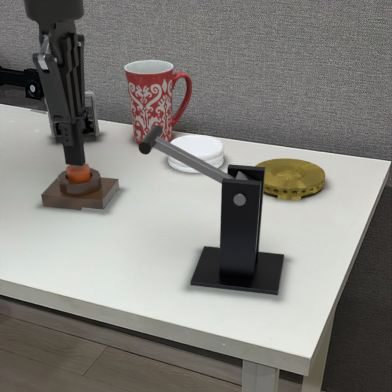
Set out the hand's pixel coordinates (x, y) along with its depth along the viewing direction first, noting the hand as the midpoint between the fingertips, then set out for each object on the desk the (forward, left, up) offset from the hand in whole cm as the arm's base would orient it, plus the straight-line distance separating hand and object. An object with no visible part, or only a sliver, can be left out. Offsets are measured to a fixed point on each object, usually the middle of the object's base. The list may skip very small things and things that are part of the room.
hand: (75, 163), depth 87 cm
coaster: (+15, +18, -6) cm, 24 cm away
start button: (0, 0, -2) cm, 2 cm away
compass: (+32, +12, -6) cm, 35 cm away
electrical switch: (-10, +24, -6) cm, 27 cm away
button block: (0, 0, -6) cm, 6 cm away
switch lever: (+23, -17, +7) cm, 29 cm away
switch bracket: (+28, -17, -6) cm, 34 cm away
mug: (+6, +28, -6) cm, 29 cm away
